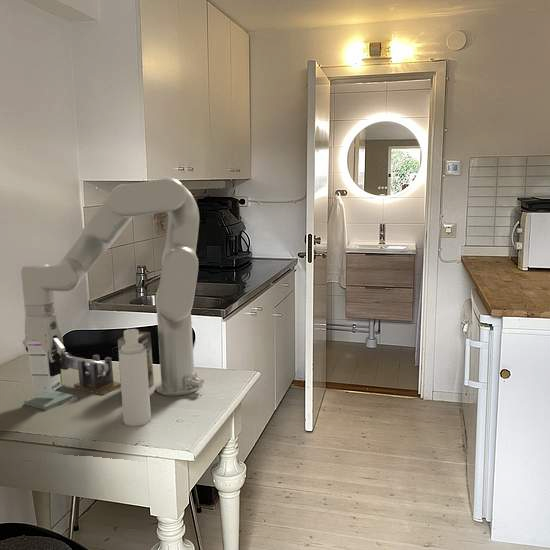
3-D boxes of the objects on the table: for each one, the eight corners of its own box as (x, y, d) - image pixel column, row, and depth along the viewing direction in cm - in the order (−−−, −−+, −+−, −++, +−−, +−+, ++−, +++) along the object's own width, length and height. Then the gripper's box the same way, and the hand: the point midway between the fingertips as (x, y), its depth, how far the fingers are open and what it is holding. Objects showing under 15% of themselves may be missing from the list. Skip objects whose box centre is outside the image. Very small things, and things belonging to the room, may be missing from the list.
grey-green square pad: (73, 398, 159) (73, 395, 158) (46, 410, 151) (45, 406, 151) (51, 393, 163) (51, 389, 163) (24, 404, 155) (24, 400, 155)
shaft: (111, 374, 167) (109, 357, 166) (97, 380, 163) (96, 363, 162) (70, 366, 176) (68, 350, 175) (56, 371, 171) (54, 354, 170)
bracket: (122, 386, 167) (119, 358, 165) (103, 394, 161) (101, 366, 159) (93, 379, 173) (91, 353, 171) (74, 387, 167) (71, 360, 165)
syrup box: (51, 393, 153) (46, 341, 150) (31, 392, 154) (26, 340, 151) (62, 385, 158) (58, 335, 156) (43, 384, 160) (38, 334, 157)
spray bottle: (142, 427, 139) (135, 328, 135) (118, 424, 141) (111, 327, 137) (155, 416, 145) (149, 321, 141) (132, 413, 147) (125, 320, 143)
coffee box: (141, 395, 159) (137, 340, 156) (120, 394, 160) (116, 339, 158) (154, 384, 168) (151, 331, 165) (134, 383, 169) (130, 330, 166)
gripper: (73, 309, 151) (78, 373, 154) (31, 303, 160) (37, 364, 163) (49, 316, 145) (56, 382, 148) (7, 309, 154) (13, 372, 157)
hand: (46, 372), depth 155 cm, fingers closed on syrup box, 7 cm apart
